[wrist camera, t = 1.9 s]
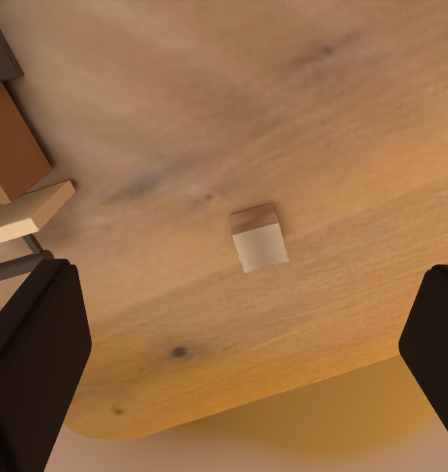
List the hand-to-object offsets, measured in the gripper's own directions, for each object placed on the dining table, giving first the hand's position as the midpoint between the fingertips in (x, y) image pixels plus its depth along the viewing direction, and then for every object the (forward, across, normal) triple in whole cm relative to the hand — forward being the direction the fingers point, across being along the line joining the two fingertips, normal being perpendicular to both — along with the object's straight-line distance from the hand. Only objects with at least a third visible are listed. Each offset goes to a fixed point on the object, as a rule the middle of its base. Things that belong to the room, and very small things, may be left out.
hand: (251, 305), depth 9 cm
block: (+24, -4, +10) cm, 27 cm away
